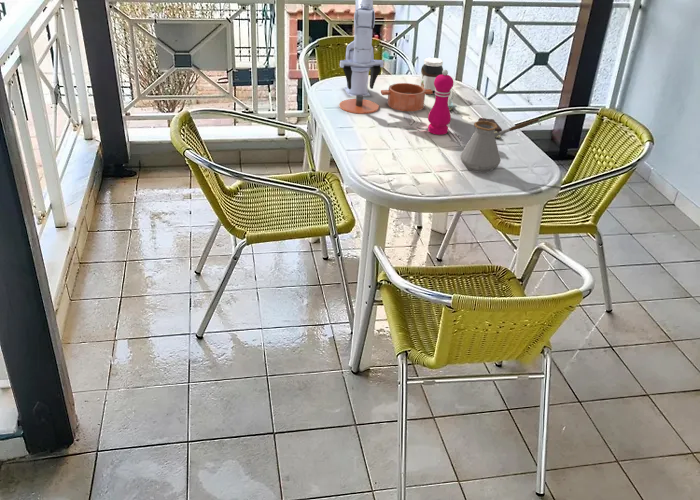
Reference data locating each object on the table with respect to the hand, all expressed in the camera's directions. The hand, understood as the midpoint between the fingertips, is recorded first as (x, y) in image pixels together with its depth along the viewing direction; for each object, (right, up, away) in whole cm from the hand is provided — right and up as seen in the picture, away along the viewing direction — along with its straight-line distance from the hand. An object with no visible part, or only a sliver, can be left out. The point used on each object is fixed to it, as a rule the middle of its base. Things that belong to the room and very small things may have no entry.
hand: (360, 88), depth 229 cm
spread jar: (+29, +4, +24) cm, 37 cm away
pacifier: (+30, -5, +8) cm, 32 cm away
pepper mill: (+25, -17, -11) cm, 32 cm away
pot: (+16, -5, +8) cm, 18 cm away
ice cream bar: (+43, -16, -8) cm, 46 cm away
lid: (0, -6, +3) cm, 7 cm away
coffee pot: (+39, -31, -34) cm, 60 cm away
